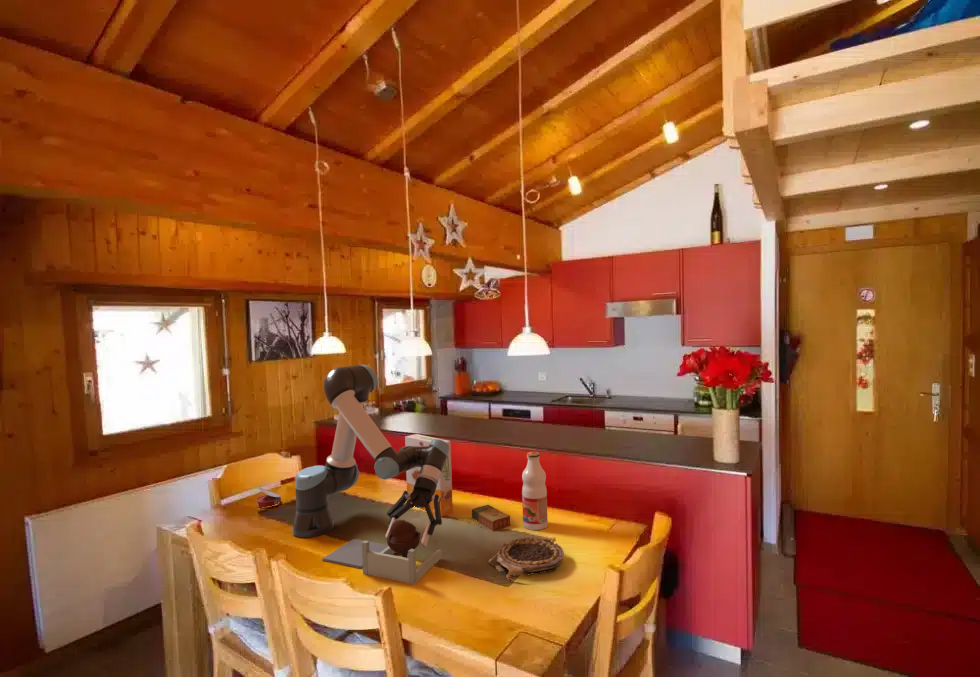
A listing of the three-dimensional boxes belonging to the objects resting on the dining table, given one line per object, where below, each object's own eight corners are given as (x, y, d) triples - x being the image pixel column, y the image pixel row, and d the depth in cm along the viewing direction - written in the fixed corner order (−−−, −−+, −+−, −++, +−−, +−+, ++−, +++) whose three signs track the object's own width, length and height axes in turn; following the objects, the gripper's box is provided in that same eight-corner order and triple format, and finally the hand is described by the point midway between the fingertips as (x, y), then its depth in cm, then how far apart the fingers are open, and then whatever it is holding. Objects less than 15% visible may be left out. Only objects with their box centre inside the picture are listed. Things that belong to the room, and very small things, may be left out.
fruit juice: (550, 529, 184) (548, 455, 183) (526, 531, 183) (524, 457, 182) (543, 519, 193) (542, 449, 193) (520, 522, 192) (518, 451, 191)
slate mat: (322, 560, 165) (322, 558, 165) (353, 541, 179) (353, 538, 179) (361, 568, 158) (361, 566, 158) (390, 547, 173) (390, 545, 173)
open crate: (363, 573, 155) (361, 542, 155) (394, 550, 171) (393, 521, 171) (413, 584, 147) (412, 551, 147) (442, 558, 163) (441, 529, 163)
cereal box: (452, 512, 204) (450, 441, 203) (441, 517, 199) (438, 444, 198) (418, 500, 219) (416, 434, 218) (407, 504, 215) (405, 436, 214)
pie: (515, 538, 178) (515, 525, 178) (587, 555, 164) (587, 541, 164) (473, 573, 154) (472, 557, 154) (553, 596, 140) (552, 579, 140)
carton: (492, 531, 185) (492, 520, 184) (471, 518, 198) (470, 508, 198) (510, 526, 189) (510, 515, 189) (488, 513, 203) (488, 503, 202)
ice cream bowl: (415, 574, 153) (413, 527, 153) (382, 572, 156) (380, 525, 155) (426, 558, 164) (425, 514, 164) (395, 556, 166) (393, 512, 166)
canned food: (264, 512, 224) (267, 489, 229) (284, 510, 223) (287, 487, 227) (248, 508, 214) (252, 485, 219) (269, 506, 213) (273, 483, 217)
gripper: (462, 489, 170) (443, 551, 157) (401, 483, 180) (378, 540, 167) (455, 479, 165) (434, 542, 152) (392, 472, 175) (368, 531, 162)
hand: (405, 541), depth 159 cm, fingers open, 13 cm apart
